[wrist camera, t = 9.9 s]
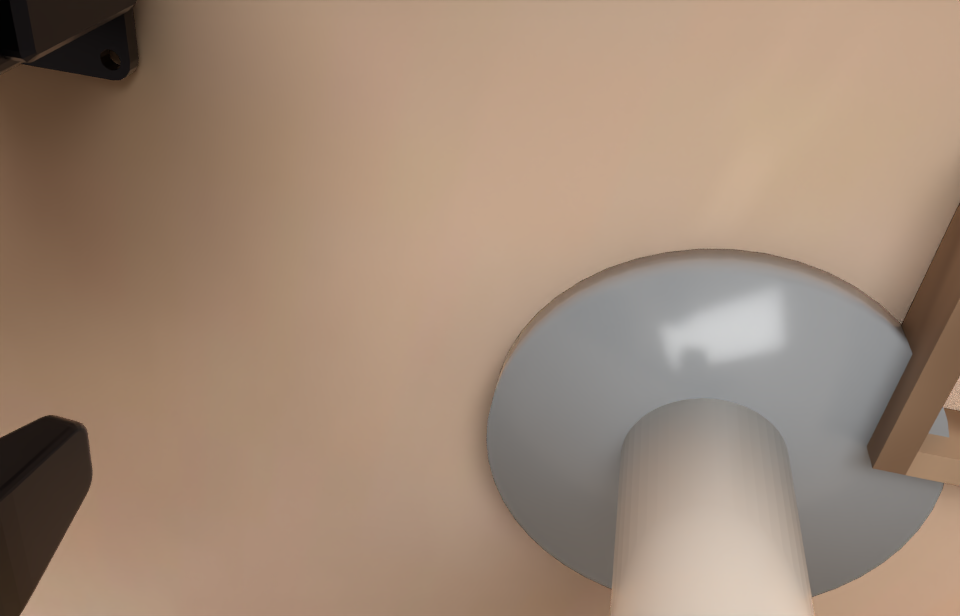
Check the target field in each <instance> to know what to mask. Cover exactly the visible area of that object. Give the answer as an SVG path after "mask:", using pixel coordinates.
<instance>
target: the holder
mask: <svg viewBox="0 0 960 616" xmlns="http://www.w3.org/2000/svg"><path fill="white" fill-rule="evenodd" d="M902 327H903V330H904V333H905V335H906V338H907V340H908V343H909V346H910V348H911V351H912V353H913V354H912V356H911V358H910V360H909V362H908V364H907V366H906V368H905V370H904V372H903V374H902V376H901V378H900V380H899V383H898V385H897V387H896V389H895V391H894V393H893V395H892V397H891V399H890V401H889V403H888V405H887V407H886V409H885V411H884V413H883V415H882V417H881V419H880V421H879V423H878V425H877V427H876V429H875V431H874V433H873V435H872V437H871V439H870V441H869V443H868V445H867V450H868V454H869V457H870V461H871V465H872V468H873V469H878V470H883V471H888V472H892V473H897V474H902V475H907V476H912V477H917V478H922V479H927V480H932V481H937V482H942V483H947V484H952V485H957V486H960V411H957V410H952V409H946V408H944V411H945V414H946V417H947V421H948V429H949V437H944V436H939V435H934V434H929V431H930V429H931V427H932V426H933V424H934V422H935V420H936V418H937V416H938V415H939V413H940V411H941V409H942V407H943V405H944V404H945V402H946V400H947V398H948V396H949V394H950V393H951V391H952V389H953V387H954V385H955V383H956V382H957V380H958V378H959V376H960V204H959V206H958V208H957V210H956V212H955V215H954V217H953V219H952V221H951V223H950V225H949V227H948V229H947V231H946V233H945V236H944V238H943V240H942V242H941V244H940V246H939V248H938V250H937V252H936V254H935V257H934V259H933V261H932V263H931V265H930V267H929V269H928V271H927V273H926V275H925V277H924V280H923V282H922V284H921V286H920V288H919V290H918V292H917V294H916V296H915V298H914V301H913V303H912V305H911V307H910V309H909V311H908V313H907V315H906V317H905V319H904V322H903V324H902Z"/></svg>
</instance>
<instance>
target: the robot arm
mask: <svg viewBox="0 0 960 616" xmlns="http://www.w3.org/2000/svg"><path fill="white" fill-rule="evenodd" d="M136 1H137V0H0V75H1V74H2V73H4V72H6V71H8V70H10V69H12V68H14V67H16V66H18V65H20V64H25V65H31V66H36V67H42V68H47V69H53V70H59V71H64V72H70V73H76V74H81V75H87V76H92V77H98V78H104V79H109V80H121V79H123V78H125V77H127V76H128V75H130V74H131V73H133V72H134V71H135V70H136V68H137V66H138V59H139V57H138V49H137V40H136V32H135V23H134V15H133V5H134V4H135V3H136ZM109 49H110V50H112V51H114V52H115V53H116V54H117V55H118V56H119V59H120V61H121V63H120V65H119V64H117V63H115V62H114V61H113V60H112V59H111V57H110V54H109ZM91 481H92V463H91V455H90V448H89V440H88V433H87V429H86V428H85V426H84V425H83V424H82V423H80V422H77V421H73V420H70V419H66V418H63V417H59V416H54V415H48V416H45V417H42V418H39V419H37V420H35V421H33V422H31V423H29V424H27V425H25V426H23V427H21V428H19V429H17V430H15V431H13V432H11V433H9V434H7V435H5V436H3V437H1V438H0V616H20V614H21V613H22V611H23V610H24V608H25V606H26V604H27V603H28V601H29V599H30V597H31V596H32V594H33V592H34V590H35V589H36V587H37V585H38V583H39V581H40V579H41V577H42V576H43V574H44V572H45V570H46V568H47V566H48V565H49V563H50V561H51V559H52V557H53V555H54V554H55V552H56V550H57V548H58V546H59V544H60V542H61V541H62V539H63V537H64V535H65V533H66V531H67V530H68V528H69V526H70V524H71V522H72V520H73V518H74V517H75V515H76V513H77V511H78V509H79V507H80V506H81V504H82V502H83V500H84V498H85V496H86V494H87V492H88V490H89V488H90V485H91Z"/></svg>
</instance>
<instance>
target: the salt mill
mask: <svg viewBox="0 0 960 616" xmlns="http://www.w3.org/2000/svg"><path fill="white" fill-rule="evenodd" d="M610 616H815V614H814V608H813V602H812V595H811V589H810V583H809V577H808V571H807V564H806V558H805V552H804V546H803V540H802V533H801V527H800V521H799V515H798V509H797V503H796V496H795V490H794V484H793V478H792V472H791V465H790V459H789V454H788V449H787V446H786V443H785V441H784V439H783V437H782V436H781V434H780V433H779V431H778V430H777V429H776V428H775V426H774V425H773V424H772V423H770V422H769V421H768V420H767V419H766V418H765V417H763V416H762V415H760V414H759V413H757V412H755V411H753V410H751V409H749V408H747V407H745V406H742V405H739V404H737V403H733V402H729V401H725V400H718V399H706V398H699V399H687V400H680V401H676V402H672V403H669V404H666V405H663V406H661V407H658V408H657V409H655V410H653V411H651V412H649V413H648V414H646V415H645V416H643V417H642V418H641V419H640V420H639V421H638V422H636V423H635V424H634V426H633V427H632V428H631V429H630V431H629V432H628V434H627V436H626V437H625V440H624V443H623V445H622V451H621V461H620V476H619V490H618V505H617V520H616V534H615V549H614V564H613V578H612V593H611V607H610Z"/></svg>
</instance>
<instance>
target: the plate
mask: <svg viewBox="0 0 960 616" xmlns="http://www.w3.org/2000/svg"><path fill="white" fill-rule="evenodd" d="M912 354H913V353H912V351H911V348H910V346H909V343H908V340H907V338H906V335H905V333H904V330H903V327H902V325H901V324H900V323H899V322H898V321H897V320H896V319H895V318H894V317H893V316H892V315H891V314H890V313H889V312H888V311H887V310H886V309H885V308H884V307H882V306H881V305H880V304H879V303H878V302H876V301H875V300H873V299H872V298H871V297H869V296H868V295H866V294H865V293H864V292H862V291H861V290H859V289H858V288H857V287H855V286H853V285H851V284H849V283H847V282H845V281H843V280H842V279H840V278H838V277H836V276H834V275H832V274H830V273H828V272H825V271H823V270H820V269H817V268H815V267H812V266H809V265H807V264H804V263H801V262H799V261H795V260H791V259H787V258H782V257H778V256H774V255H770V254H766V253H758V252H750V251H742V250H734V249H695V250H685V251H674V252H666V253H661V254H657V255H652V256H647V257H642V258H638V259H634V260H631V261H628V262H625V263H622V264H619V265H616V266H613V267H610V268H608V269H605V270H603V271H601V272H599V273H597V274H595V275H593V276H591V277H589V278H586V279H584V280H582V281H580V282H579V283H577V284H576V285H574V286H573V287H571V288H569V289H568V290H566V291H565V292H563V293H562V294H560V295H559V296H557V297H556V298H555V299H554V300H552V301H551V302H550V303H549V304H548V305H547V306H545V307H544V308H543V309H542V310H541V311H540V312H538V313H537V314H536V316H535V317H534V318H533V319H532V320H531V321H530V322H529V324H528V325H527V326H526V327H525V328H524V329H523V330H522V331H521V333H520V335H519V336H518V338H517V339H516V341H515V342H514V344H513V346H512V347H511V349H510V350H509V352H508V354H507V357H506V359H505V361H504V364H503V366H502V368H501V371H500V374H499V378H498V381H497V385H496V389H495V393H494V396H493V400H492V405H491V409H490V413H489V417H488V425H487V440H486V441H487V450H488V460H489V464H490V468H491V471H492V475H493V479H494V482H495V484H496V486H497V488H498V491H499V493H500V495H501V497H502V499H503V501H504V503H505V504H506V506H507V508H508V509H509V511H510V512H511V514H512V515H513V517H514V518H515V520H516V521H517V522H518V523H519V524H520V526H521V527H522V528H523V529H524V530H525V531H526V533H527V534H528V535H529V536H530V537H531V538H532V539H533V540H534V541H535V542H536V543H538V544H539V545H540V546H541V547H542V548H543V549H544V550H545V551H546V552H548V553H549V554H550V555H552V556H553V557H555V558H556V559H557V560H559V561H560V562H561V563H563V564H564V565H566V566H567V567H569V568H571V569H572V570H574V571H576V572H577V573H579V574H581V575H583V576H584V577H586V578H588V579H590V580H593V581H595V582H597V583H599V584H601V585H603V586H605V587H608V588H611V589H612V578H613V564H614V549H615V534H616V520H617V505H618V490H619V476H620V461H621V451H622V445H623V443H624V440H625V437H626V436H627V434H628V432H629V431H630V429H631V428H632V427H633V426H634V424H635V423H636V422H638V421H639V420H640V419H641V418H642V417H643V416H645V415H646V414H648V413H649V412H651V411H653V410H655V409H657V408H658V407H661V406H663V405H666V404H669V403H672V402H676V401H680V400H687V399H699V398H706V399H718V400H725V401H729V402H733V403H737V404H739V405H742V406H745V407H747V408H749V409H751V410H753V411H755V412H757V413H759V414H760V415H762V416H763V417H765V418H766V419H767V420H768V421H769V422H770V423H772V424H773V425H774V426H775V428H776V429H777V430H778V431H779V433H780V434H781V436H782V437H783V439H784V441H785V443H786V446H787V449H788V454H789V459H790V465H791V472H792V478H793V484H794V490H795V496H796V503H797V509H798V515H799V521H800V527H801V533H802V540H803V546H804V552H805V558H806V564H807V571H808V577H809V583H810V589H811V595H812V597H813V596H816V595H819V594H822V593H825V592H827V591H830V590H833V589H836V588H838V587H840V586H842V585H845V584H847V583H849V582H851V581H853V580H855V579H857V578H859V577H861V576H863V575H864V574H866V573H868V572H869V571H871V570H872V569H874V568H876V567H877V566H879V565H880V564H882V563H883V562H885V561H886V560H887V559H888V558H890V557H891V556H892V555H893V554H895V553H896V552H897V551H898V550H899V549H901V548H902V547H903V546H904V545H905V544H906V543H907V542H908V541H909V539H910V538H911V537H912V536H913V535H914V534H915V533H916V532H917V531H918V530H919V528H920V527H921V526H922V524H923V523H924V521H925V520H926V519H927V517H928V516H929V514H930V513H931V511H932V510H933V507H934V505H935V503H936V501H937V499H938V497H939V495H940V493H941V491H942V488H943V484H944V483H942V482H937V481H932V480H927V479H922V478H917V477H912V476H907V475H902V474H897V473H892V472H888V471H883V470H878V469H873V468H872V465H871V461H870V457H869V454H868V450H867V445H868V443H869V441H870V439H871V437H872V435H873V433H874V431H875V429H876V427H877V425H878V423H879V421H880V419H881V417H882V415H883V413H884V411H885V409H886V407H887V405H888V403H889V401H890V399H891V397H892V395H893V393H894V391H895V389H896V387H897V385H898V383H899V380H900V378H901V376H902V374H903V372H904V370H905V368H906V366H907V364H908V362H909V360H910V358H911V356H912ZM929 434H934V435H939V436H944V437H949V429H948V421H947V417H946V414H945V411H944V408H943V407H942V409H941V411H940V413H939V415H938V416H937V418H936V420H935V422H934V424H933V426H932V427H931V429H930V431H929Z"/></svg>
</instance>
